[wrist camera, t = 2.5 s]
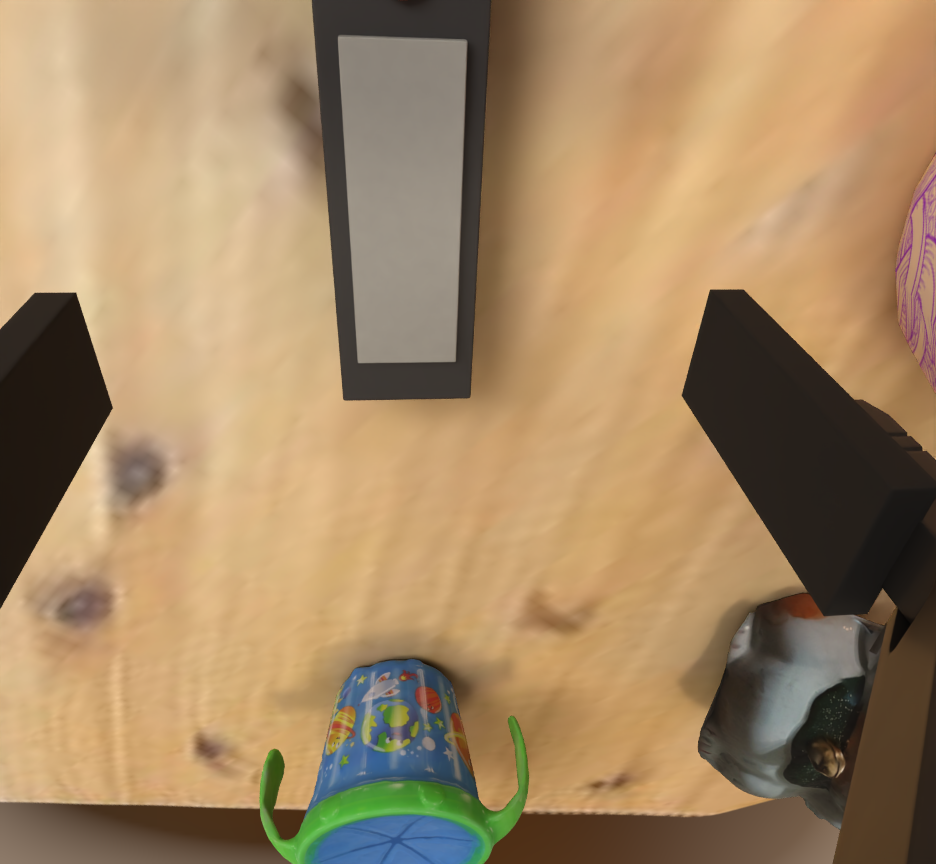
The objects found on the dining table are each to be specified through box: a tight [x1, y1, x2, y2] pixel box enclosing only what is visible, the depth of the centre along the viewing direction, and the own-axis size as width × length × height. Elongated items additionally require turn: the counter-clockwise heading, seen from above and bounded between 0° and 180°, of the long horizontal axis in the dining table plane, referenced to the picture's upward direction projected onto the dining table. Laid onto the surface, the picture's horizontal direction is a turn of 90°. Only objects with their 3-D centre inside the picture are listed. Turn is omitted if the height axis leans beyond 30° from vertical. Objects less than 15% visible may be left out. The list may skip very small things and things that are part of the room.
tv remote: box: [312, 0, 491, 400], centre depth 24 cm, size 17×5×3 cm, turn 177°
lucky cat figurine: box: [698, 593, 884, 830], centre depth 42 cm, size 15×12×14 cm
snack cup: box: [260, 659, 529, 864], centre depth 41 cm, size 16×10×10 cm
